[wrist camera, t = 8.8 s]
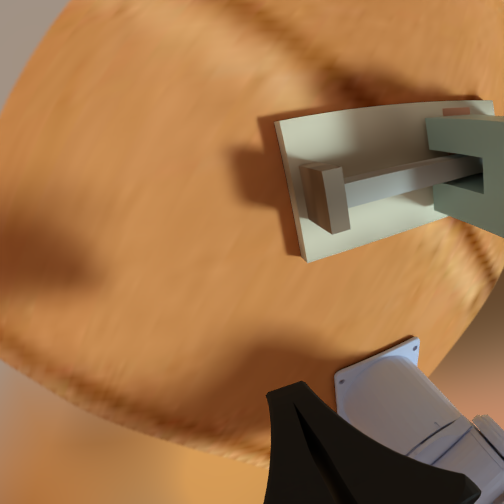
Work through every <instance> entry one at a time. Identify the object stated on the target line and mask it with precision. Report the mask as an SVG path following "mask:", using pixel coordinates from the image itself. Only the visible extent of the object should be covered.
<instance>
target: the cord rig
mask: <svg viewBox="0 0 504 504" xmlns="http://www.w3.org/2000/svg"><path fill="white" fill-rule="evenodd" d="M469 114H476V115H494V107H493V101H492V100H464V101H435V102H418V103H404V104H393V105H382V106H373V107H364V108H356V109H348V110H341V111H334V112H327V113H321V114H315V115H309V116H303V117H297V118H292V119H287V120H281V121H276V122H274V124H275V129H276V133H277V138H278V142H279V147H280V151H281V156H282V161H283V165H284V170H285V175H286V180H287V184H288V189H289V194H290V199H291V204H292V209H293V214H294V220H295V225H296V230H297V235H298V241H299V246H300V252H301V257H302V258H303V259H304V260H305V261H306V262H307V263H309V262H312V261H315V260H319V259H322V258H325V257H328V256H331V255H334V254H337V253H340V252H343V251H347V250H350V249H353V248H356V247H359V246H362V245H365V244H368V243H371V242H374V241H377V240H380V239H383V238H386V237H389V236H392V235H395V234H398V233H401V232H404V231H407V230H410V229H413V228H416V227H418V226H421V225H424V224H427V223H430V222H433V221H436V220H439V219H442V218H444V217H447V216H448V215H446V214H443V213H440V212H437V211H435V210H434V200H433V185H436V184H440V183H444V182H447V181H451V180H455V179H459V178H463V177H466V176H470V175H474V174H478V173H482V172H483V159H482V158H481V157H475V156H469V155H463V154H457V153H450V152H444V151H436V150H429V143H428V135H427V128H426V121H425V118H431V117H442V116H454V115H469ZM494 116H495V115H494Z"/></svg>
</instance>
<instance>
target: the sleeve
mask: <svg viewBox="0 0 504 504" xmlns="http://www.w3.org/2000/svg"><path fill="white" fill-rule="evenodd" d="M425 121H426V128H427V135H428V143H429V150H436V151H444V152H450V153H457V154H463V155H469V156H475V157H481V158H482V159H483V172H482V173H478V174H474V175H470V176H466V177H463V178H459V179H455V180H451V181H447V182H444V183H440V184H436V185H433V200H434V210H435V211H437V212H440V213H443V214H446V215H448V216H451V217H453V218H456V219H459V220H461V221H464V222H466V223H469V224H471V225H474V226H476V227H479V228H481V229H484V230H486V231H489V232H491V233H493V234H496V235H498V236H500V237H503V238H504V116H494V115H476V114H469V115H454V116H442V117H431V118H425Z"/></svg>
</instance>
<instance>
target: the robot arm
mask: <svg viewBox="0 0 504 504" xmlns="http://www.w3.org/2000/svg"><path fill="white" fill-rule="evenodd" d="M419 344H420V340H419V338H417V337H413V338H411V339H409V340H407V341H405V342H403V343H401V344H399V345H397V346H394V347H392V348H390V349H388V350H386V351H384V352H381V353H379V354H377V355H375V356H373V357H370V358H368V359H366V360H363V361H361V362H359V363H356V364H354V365H352V366H349V367H347V368H344V369H342V370H339V371H338V372H336V373H335V375H334V382H335V393H336V404H337V413H336V412H334V411H333V410H332V409H331V408H330V407H329V406H327V405H326V404H325V403H324V402H323V401H322V400H321V399H320V398H319V397H318V396H317V395H316V394H315V393H314V392H313V391H312V390H311V389H310V387H309V386H308V385H307V384H306V383H305V382H303V381H300V382H297V383H294V384H291V385H288V386H286V387H283V388H280V389H277V390H274V391H270V392H268V393H267V394H266V398H267V401H268V405H269V411H270V421H271V454H270V467H269V476H268V482H267V489H266V494H265V499H264V503H263V504H504V431H503V430H502V429H501V428H500V427H499V425H498V424H497V423H495V421H494V420H493V419H492V418H490V417H489V416H488V415H482V416H480V415H477V416H476V417H474V419H473V420H472V421H473V423H474V424H475V425H476V426H477V427H478V428H479V430H480V431H479V430H478V428H477V427H476V426H475V425H474V424H473V423H471V422H470V421H469V420H468V419H467V418H466V417H464V416H463V415H462V414H461V413H460V412H459V411H458V410H457V409H456V407H454V405H453V404H452V403H451V402H450V401H449V400H448V399H447V398H446V397H445V396H444V395H443V394H442V392H440V390H439V389H438V388H437V387H436V386H435V385H434V384H433V383H432V382H431V381H430V380H429V379H428V378H427V377H426V376H425V375H424V374H423V373H422V371H421V370H420V369H419V368H418V367H417V362H418V354H419Z"/></svg>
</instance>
